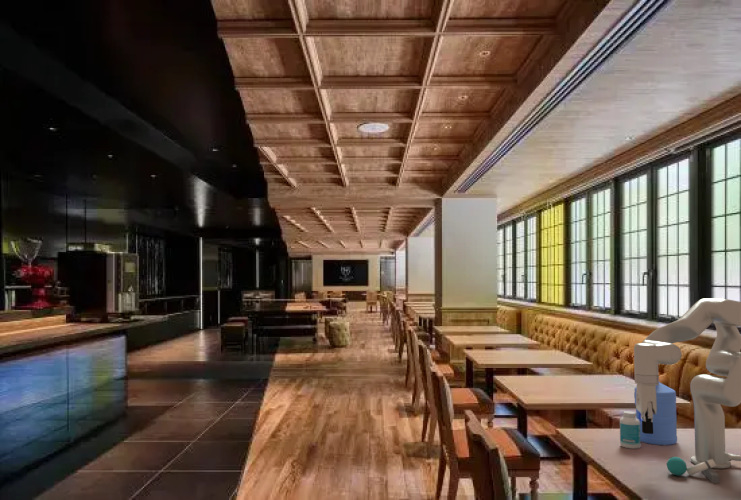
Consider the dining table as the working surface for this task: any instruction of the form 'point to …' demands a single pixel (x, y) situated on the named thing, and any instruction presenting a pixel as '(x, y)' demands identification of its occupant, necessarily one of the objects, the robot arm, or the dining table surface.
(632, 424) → the pill bottle
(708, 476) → the grey block
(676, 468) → the ball
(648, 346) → the robot arm
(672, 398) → the water jug
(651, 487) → the dining table surface
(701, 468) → the pin
